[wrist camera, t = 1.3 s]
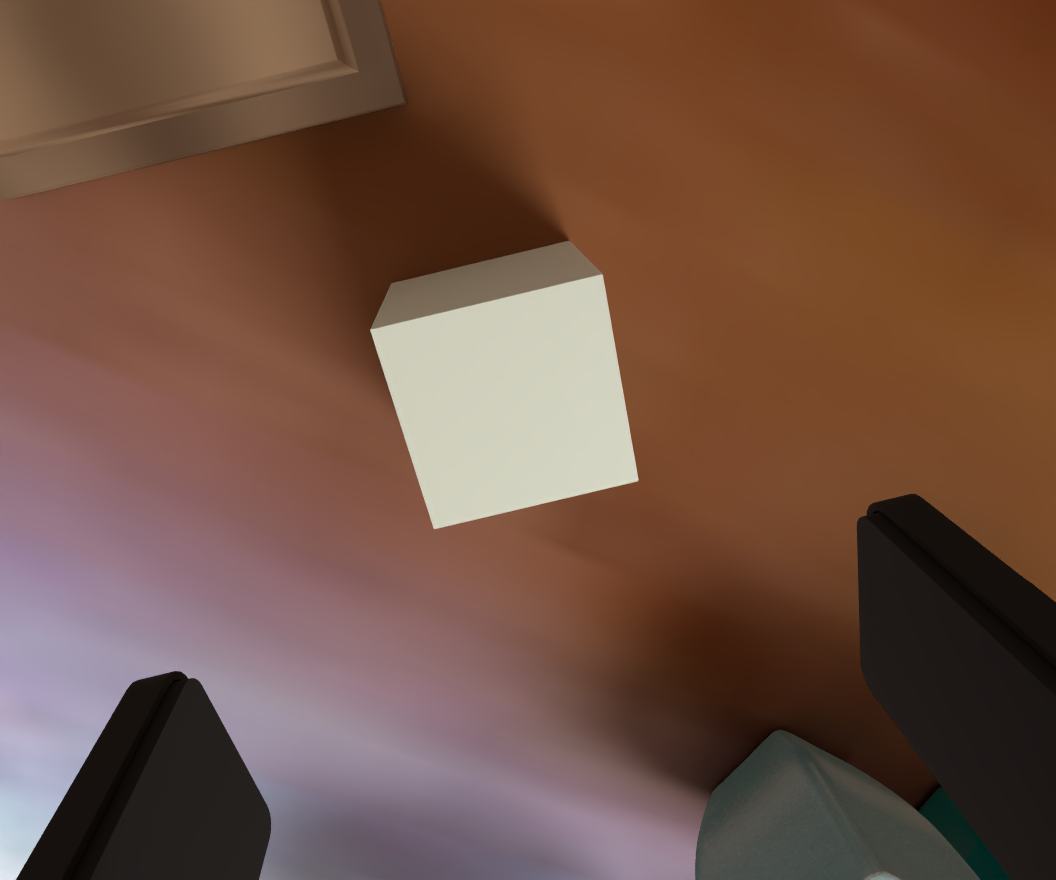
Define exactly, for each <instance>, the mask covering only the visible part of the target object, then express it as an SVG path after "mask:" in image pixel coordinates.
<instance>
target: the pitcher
mask: <svg viewBox="0 0 1056 880" xmlns="http://www.w3.org/2000/svg"><path fill="white" fill-rule="evenodd" d="M918 812H919V813H920V814H921V815H922V816H923V817H925V818H926V819H927V820H928V821H929V822H930V823H931V824H932V825H933V826H934V827H935V828H936V829H937V830H938V831H939V832H940V833H941V834H942V835H943V836H944V838H945V839H946V840H947V841H948V842H949V843H950V844H951V845H952V847H953V848H954V849H955V850H956V851H957V852H958V854H959V855H960V856H961V857H962V858H963V859H964V861H965V862H966V863H967V864H968V865H969V866H970V868H971V869H972V870H973V871H974V872H975V874H976V875H977V876H978V877H979V879H980V880H1011V879H1010V878H1009V876H1008V875H1007V874H1006V872H1005V871H1004V870H1003V868H1002V867H1001V866H1000V864H999V863H998V862H997V860H996V859H995V858H994V856H993V855H992V854H991V852H990V851H989V849H988V848H987V847H986V845H985V844H984V843H983V841H982V840H981V839H980V837H979V836H978V835H977V833H976V832H975V831H974V829H973V828H972V827H971V825H970V824H969V823H968V821H967V820H966V818H965V817H964V816H963V814H962V813H961V812H960V810H959V809H958V808H957V806H956V805H955V804H954V802H953V801H952V800H951V798H950V797H949V796H948V794H947V793H946V792H945V790H944V789H943V788H942V786H940V787H939V788H937V789H936V790H935V791H934V792H933V794H932V795H931V796H930V797H929V798H928V799H927V801H926V802H925V803H924V804H923V805H922V806H921V807H920V809H919V810H918Z"/></svg>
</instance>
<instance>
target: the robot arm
mask: <svg viewBox="0 0 1056 880" xmlns="http://www.w3.org/2000/svg"><path fill="white" fill-rule="evenodd" d="M857 547H858V583H859V619H860V655H861V668H862V672H863V676H864V678H865V681H866V683H867V685H868V687H869V689H870V690H871V692H872V693H873V695H874V696H875V697H876V699H877V700H878V701H879V703H880V704H881V705H882V707H883V708H884V709H885V711H886V712H887V713H888V715H889V716H890V717H891V719H892V720H893V721H894V723H895V724H896V726H897V727H898V728H899V730H900V731H901V732H902V734H903V735H904V736H905V738H906V739H907V740H908V742H909V743H910V744H911V746H912V747H913V748H914V750H915V751H916V752H917V754H918V755H919V757H920V758H921V759H922V761H923V762H924V763H925V765H926V766H927V767H928V769H929V770H930V771H931V773H932V774H933V775H934V777H935V778H936V779H937V781H938V782H939V783H940V785H941V786H942V788H943V789H944V790H945V792H946V793H947V794H948V796H949V797H950V798H951V800H952V801H953V802H954V804H955V805H956V806H957V808H958V809H959V810H960V812H961V813H962V814H963V816H964V817H965V818H966V820H967V821H968V823H969V824H970V825H971V827H972V828H973V829H974V831H975V832H976V833H977V835H978V836H979V837H980V839H981V840H982V841H983V843H984V844H985V845H986V847H987V848H988V849H989V851H990V852H991V854H992V855H993V856H994V858H995V859H996V860H997V862H998V863H999V864H1000V866H1001V867H1002V868H1003V870H1004V871H1005V872H1006V874H1007V875H1008V876H1009V878H1010V879H1011V880H1056V602H1055V601H1053V600H1052V599H1051V598H1049V597H1048V596H1047V595H1046V594H1044V593H1043V592H1042V591H1041V590H1039V589H1038V588H1037V587H1035V586H1034V585H1033V584H1032V583H1030V582H1029V581H1027V580H1026V579H1024V578H1023V577H1022V576H1020V575H1019V574H1018V573H1017V572H1015V571H1014V570H1013V569H1012V568H1010V567H1009V566H1008V565H1007V564H1005V563H1004V562H1003V561H1001V560H1000V559H999V558H998V557H996V556H995V555H994V554H993V553H991V552H990V551H989V550H987V549H986V548H985V547H984V546H982V545H981V544H980V543H979V542H977V541H976V540H975V539H974V538H972V537H971V536H970V535H968V534H967V533H966V532H965V531H963V530H962V529H961V528H960V527H958V526H957V525H956V524H954V523H953V522H952V521H951V520H949V519H948V518H947V517H946V516H944V515H943V514H942V513H941V512H939V511H938V510H937V509H935V508H934V507H933V506H932V505H930V504H929V503H928V502H927V501H925V500H924V499H923V498H921V497H920V496H918V495H916V494H909V495H904V496H900V497H896V498H892V499H888V500H884V501H880V502H875V503H872V504H871V505H870V506H869V508H868V510H867V516H863V517H861V518H859V520H858V522H857ZM270 833H271V817H270V812H269V809H268V806H267V804H266V803H265V801H264V799H263V797H262V795H261V793H260V791H259V790H258V788H257V786H256V784H255V782H254V780H253V779H252V777H251V775H250V773H249V771H248V769H247V768H246V766H245V764H244V762H243V760H242V758H241V756H240V755H239V753H238V751H237V749H236V747H235V745H234V744H233V742H232V740H231V738H230V736H229V734H228V732H227V731H226V729H225V727H224V725H223V723H222V721H221V720H220V718H219V716H218V714H217V712H216V710H215V709H214V707H213V705H212V703H211V701H210V699H209V697H208V696H207V694H206V692H205V690H204V688H203V686H202V685H201V683H200V682H199V681H198V680H197V679H195V678H190V679H188V678H187V676H186V675H185V674H183V673H182V672H179V671H174V672H170V673H166V674H162V675H157V676H153V677H149V678H145V679H141V680H137V681H135V682H133V683H132V684H131V685H130V686H129V688H128V689H127V690H126V692H125V694H124V696H123V697H122V699H121V701H120V702H119V704H118V706H117V708H116V709H115V711H114V713H113V714H112V716H111V718H110V720H109V721H108V723H107V725H106V726H105V728H104V730H103V732H102V733H101V735H100V737H99V738H98V740H97V742H96V744H95V745H94V747H93V749H92V750H91V752H90V754H89V756H88V757H87V759H86V761H85V762H84V764H83V766H82V768H81V769H80V771H79V773H78V774H77V776H76V778H75V780H74V781H73V783H72V785H71V786H70V788H69V790H68V792H67V793H66V795H65V797H64V798H63V800H62V802H61V804H60V805H59V807H58V809H57V810H56V812H55V814H54V816H53V817H52V819H51V821H50V822H49V824H48V826H47V827H46V829H45V831H44V833H43V834H42V836H41V838H40V839H39V841H38V843H37V845H36V846H35V848H34V850H33V851H32V853H31V855H30V857H29V858H28V860H27V862H26V863H25V865H24V867H23V869H22V870H21V872H20V874H19V875H18V877H17V879H16V880H259V877H260V873H261V869H262V865H263V861H264V857H265V854H266V850H267V846H268V842H269V838H270Z"/></svg>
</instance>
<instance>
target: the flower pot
mask: <svg viewBox="0 0 1056 880" xmlns="http://www.w3.org/2000/svg"><path fill="white" fill-rule="evenodd" d="M695 880H980V879H979V877H978V876H977V875H976V874H975V872H974V871H973V870H972V869H971V868H970V866H969V865H968V864H967V863H966V862H965V861H964V859H963V858H962V857H961V856H960V855H959V854H958V852H957V851H956V850H955V849H954V848H953V847H952V845H951V844H950V843H949V842H948V841H947V840H946V839H945V838H944V836H943V835H942V834H941V833H940V832H939V831H938V830H937V829H936V828H935V827H934V826H933V825H932V824H931V823H930V822H929V821H928V820H927V819H926V818H925V817H923V816H922V815H921V814H920V813H919V812H918V811H917V810H916V809H914V808H913V807H912V806H911V805H910V804H908V803H907V802H906V801H905V800H903V799H902V798H901V797H899V796H898V795H897V794H895V793H894V792H893V791H891V790H890V789H888V788H887V787H885V786H884V785H882V784H881V783H879V782H878V781H876V780H875V779H873V778H872V777H870V776H868V775H867V774H865V773H864V772H862V771H860V770H859V769H857V768H855V767H854V766H852V765H850V764H848V763H846V762H845V761H843V760H841V759H839V758H837V757H835V756H833V755H831V754H829V753H827V752H825V751H823V750H821V749H819V748H818V747H816V746H814V745H812V744H810V743H808V742H807V741H805V740H803V739H801V738H799V737H797V736H795V735H793V734H791V733H789V732H787V731H784V730H777V731H775V732H773V733H772V734H771V735H770V736H768V737H767V738H766V739H765V740H764V741H763V742H762V743H761V744H760V745H759V746H758V747H757V748H756V749H755V750H754V751H753V752H752V753H751V754H750V756H749V757H748V758H747V759H746V760H745V761H744V762H743V763H742V764H740V765H739V766H738V767H737V768H736V769H735V770H734V771H733V772H732V773H731V774H730V775H729V776H728V777H727V778H726V779H725V780H724V781H723V782H722V783H721V784H720V785H719V786H718V787H717V788H716V789H715V790H714V791H713V792H712V794H711V796H710V799H709V802H708V805H707V807H706V810H705V813H704V816H703V819H702V823H701V827H700V831H699V836H698V841H697V849H696V860H695Z"/></svg>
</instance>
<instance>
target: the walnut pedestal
mask: <svg viewBox="0 0 1056 880" xmlns="http://www.w3.org/2000/svg"><path fill="white" fill-rule="evenodd" d="M405 104H407V100H406V97H405V93H404V89H403V85H402V81H401V78H400V74H399V70H398V66H397V62H396V58H395V55H394V51H393V47H392V43H391V39H390V36H389V32H388V28H387V24H386V20H385V16H384V13H383V9H382V5H381V1H380V0H0V201H1V200H7V199H14V198H19V197H23V196H28V195H32V194H36V193H40V192H44V191H48V190H52V189H57V188H61V187H65V186H69V185H73V184H77V183H81V182H86V181H90V180H94V179H98V178H102V177H106V176H111V175H115V174H119V173H123V172H127V171H131V170H135V169H140V168H144V167H148V166H152V165H156V164H160V163H164V162H169V161H173V160H177V159H181V158H185V157H189V156H193V155H198V154H202V153H206V152H210V151H214V150H218V149H222V148H227V147H231V146H235V145H239V144H243V143H247V142H251V141H256V140H260V139H264V138H268V137H272V136H276V135H281V134H285V133H289V132H293V131H297V130H301V129H305V128H310V127H314V126H318V125H322V124H326V123H330V122H334V121H339V120H343V119H347V118H351V117H355V116H359V115H363V114H368V113H372V112H376V111H380V110H384V109H388V108H392V107H397V106H401V105H405Z"/></svg>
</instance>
